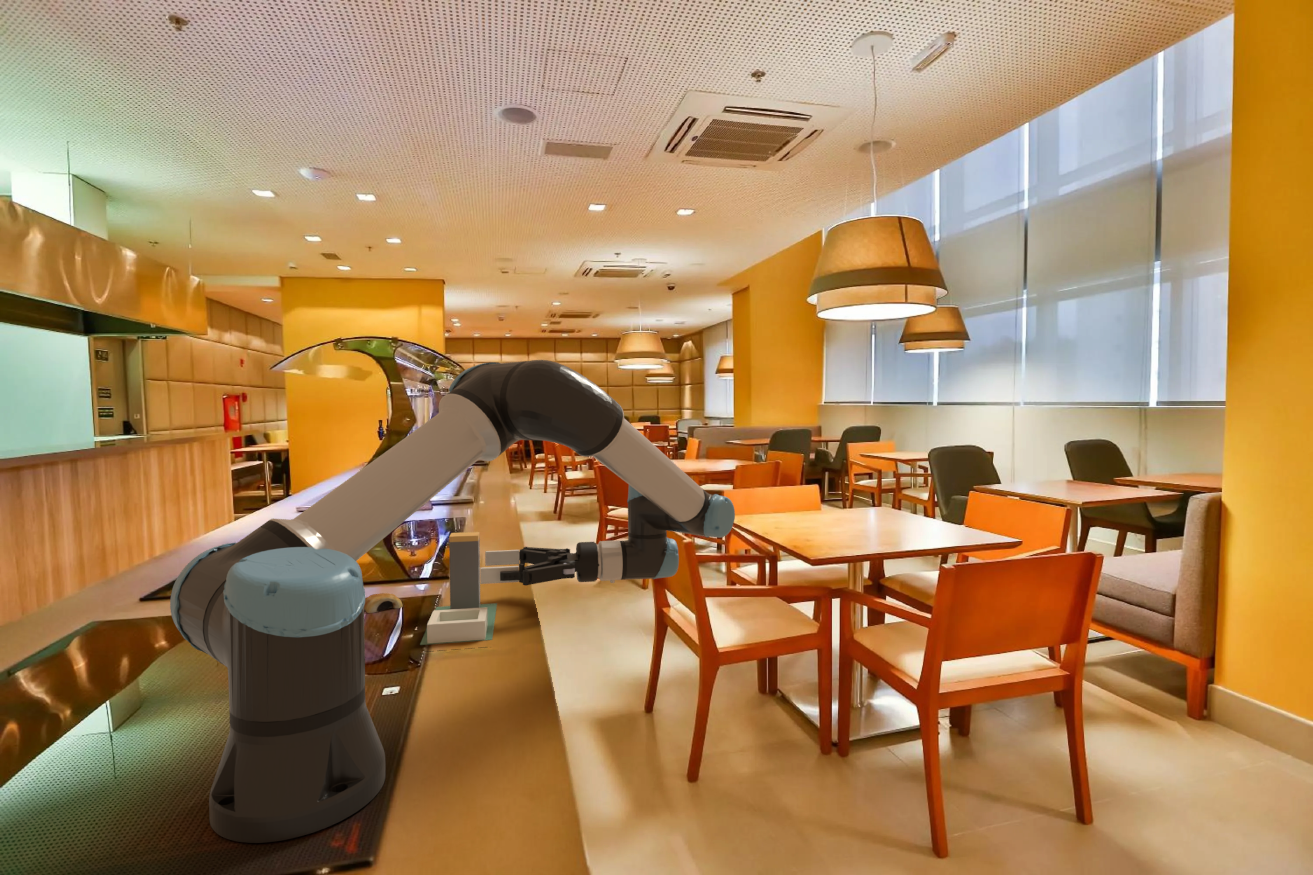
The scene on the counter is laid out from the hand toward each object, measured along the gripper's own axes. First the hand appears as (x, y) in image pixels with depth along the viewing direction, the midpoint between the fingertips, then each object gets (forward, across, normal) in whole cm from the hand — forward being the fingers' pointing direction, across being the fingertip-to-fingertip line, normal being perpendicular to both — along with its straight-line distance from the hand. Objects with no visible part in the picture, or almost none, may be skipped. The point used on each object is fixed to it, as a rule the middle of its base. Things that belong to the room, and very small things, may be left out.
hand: (482, 566), depth 120 cm
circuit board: (+3, -8, -9) cm, 12 cm away
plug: (+3, 0, -8) cm, 8 cm away
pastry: (+19, +6, -9) cm, 22 cm away
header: (+3, -13, -8) cm, 16 cm away
